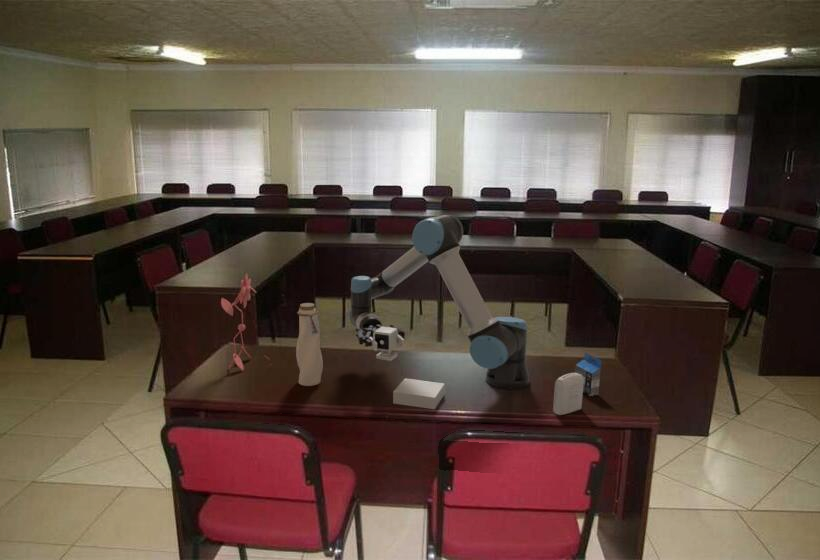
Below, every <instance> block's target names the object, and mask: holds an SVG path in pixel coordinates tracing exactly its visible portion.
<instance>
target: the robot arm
mask: <svg viewBox="0 0 820 560" xmlns="http://www.w3.org/2000/svg"><path fill="white" fill-rule="evenodd" d="M463 236H464V227H463V224H462V223H461V221H460V220H459V219H458V217H455V216H453V215H451V214H442V215H438V216H432V217H427V218H425V219H423V220H420V221H418V223H417V224H416V225H415V226H414V229H413V231H412V235H411V241H412V243H413V246H412V248H410V249H409V250H408V251H406V252H405V253H404V254H403V255H402V256H400V257H399V258H398V259H396V260H395V261H394V262H392V263H391V264H390V265H389V266H388V267H386V268H385V269H383V270H382V272H380V273H379V274H377V275H376V276H375V277H369V276H367V275H358V276H353V277H352V278H351V280H350V281H351V283H350V284H351V285H350V300H351V302H350V304H351V305H350V310H349V312H348V319H349V321H350V323H351V324H352V326H354V327H355V337H357V339H358V343H359V345H363V344H364V347H367V348H368V347H370V348H371V349H372V350H374V352H377V351H378V350H377V342H376V341H375V340H374V339H373V332H374V331H376V330H377V329H379V328H380V327H382V326H383V327H386V326H385V325H383V323H382V322H381V320H380V319H378V318H377V317H376V316H375V315H374V314H372V303H373V302H372V300H373V299H376V298H379V297H382V296H384V295H388V294H389V293H391V292H393V291H394V289H395V288H396V286H397V285H399V284H400V283H402V282H403V281H404V280H406V279H407V278H408V277H410V276H411V275H412V274H414V273H415V272H416V271H418V270H419V269H420V268H421V267H423V266H424V265H425V264H427V263H428V262H429V264H432V265H435V267H436V268H437V270H438V272H439V274H440V275H441V276H440V277H442V280H443V281H444V283H445V285H446V287H447V289H448V291H449V293H450V295H451V297H452V299H453V301H454V302H455V304H456V306H457V309H458V310H459V312H460V314H461V316H462V318H463V320H464V322H465V324H466V326H467V327H468V332H467V337H468V338H467V339H469V342H470V344H469V345H470V346H469V347H470V348H469V354H470V357H471V359H472V360H473V361H474V363H475V364H477V365H478V366H480V367H481V368H484V369H487V370H486V372H485V381H486V382H487V384H489V385H491V386H493V387H496V388H500V389H504V390H505V389H507V390H510V389H511V390H515V389H522V388H524V387H526V386H528V385H529V383H530V375H529V371H528V367H527V364H526V351H527V347H526V346H527V335H528V334H527V331H528V324H527V322H526V320H524V319H521V318H518V317H513V316H496V317H493V316H492V314H491V312H490V310H489V309H488V307H487V305H486V303H485V301H484V299H483V297H482V295H481V294H480V291H479V290H478V287H477V285H476V284H475V282H474V280H473V278H472V276H471V274H470V273H469V270H468V269H467V267H466V266H467V265H466V264H465V262H464V261H463V259H462V257H461V255H460V249H461V245H460V244H459V243H460V242H461V241H462V239H463ZM388 327H391V328H396V327H395V326H394V325H393V324H391V325H390V324H389V326H388ZM397 329H398V345H399V346H400V347H401V348H405V340H406V338H405V331H403V330H401V329H399V328H397Z"/></svg>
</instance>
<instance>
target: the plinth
mask: <svg viewBox="0 0 820 560" xmlns="http://www.w3.org/2000/svg"><path fill="white" fill-rule="evenodd" d="M445 389H446V386H445V383H443V382H435V381H429V380H428V381H426V380H421V379H413V378H404V379H403V380H402V381H401V382H400V383H399V385H398V386H397V387H396V388H394V390H393V391H392V404H395V405H396V404H397V405H402V406H408V407H409V406H410V407H417V408H423V409H429V410H435V409H436V408H437V407H438V405H439V404H440V402H441V401H442V399H443V398H444V396H445Z"/></svg>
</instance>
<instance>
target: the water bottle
mask: <svg viewBox="0 0 820 560" xmlns="http://www.w3.org/2000/svg"><path fill="white" fill-rule="evenodd" d="M296 314H297V316H298V317H299V318H298V323H299V324H298V325H299V328H298V329H299V330H298V331H299V332H298V337H297V343H296V347H295V354H296V355H295V356H296V362H297V363H296V364H297V367H298V368H299V376H298V384H299V385H301V386H304V387H312V386H317V385H319V384H320V383H321V381H322V379H321V377H322V373H323V368H324V364H323V356H322V352H321V348H320V347H321V345H320V335H321V330H320V324H319V315H318V314H319V311H318V310H316V307H315V303H312V302H304V303H300V305H299V309H298V311H297V312H296Z"/></svg>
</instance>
